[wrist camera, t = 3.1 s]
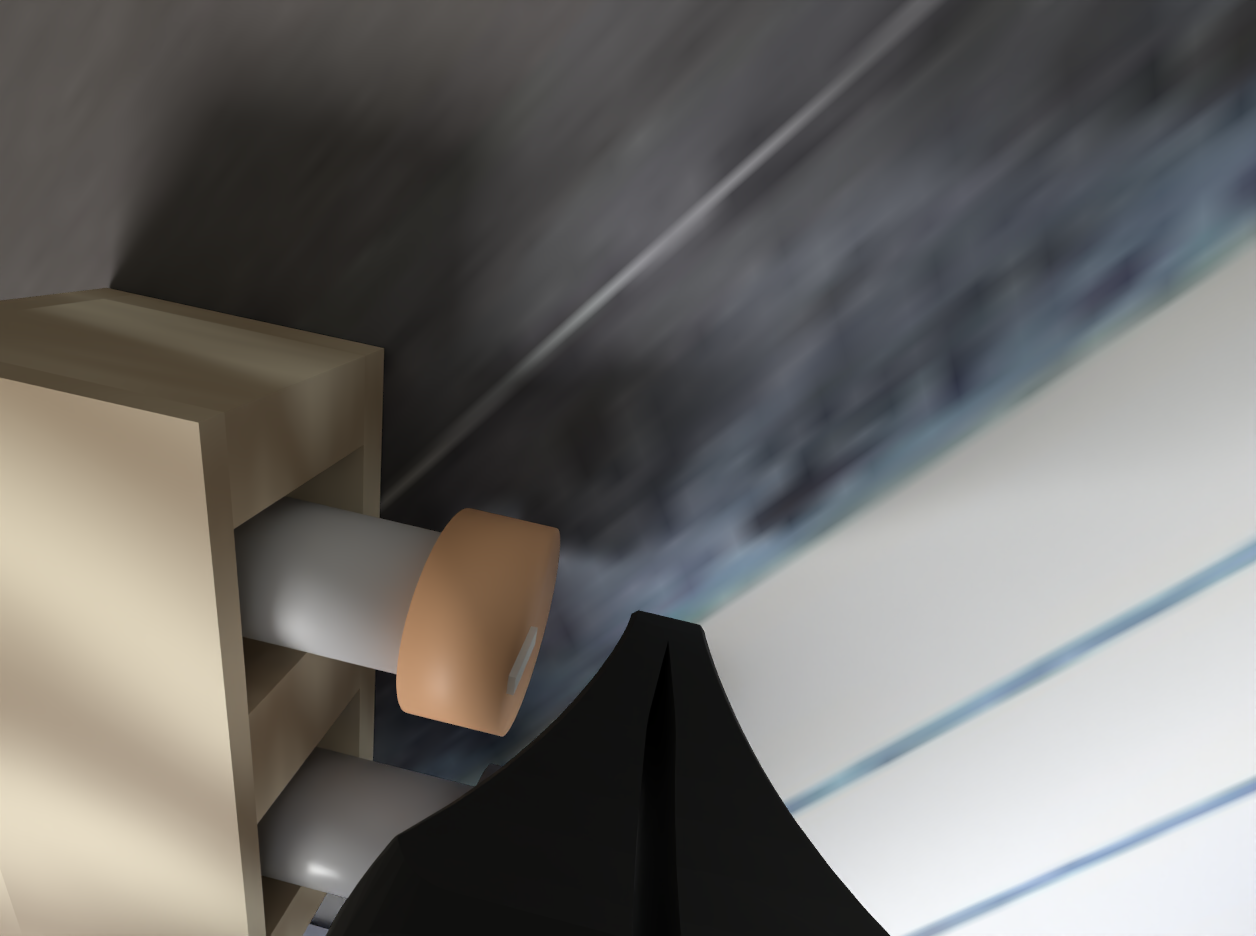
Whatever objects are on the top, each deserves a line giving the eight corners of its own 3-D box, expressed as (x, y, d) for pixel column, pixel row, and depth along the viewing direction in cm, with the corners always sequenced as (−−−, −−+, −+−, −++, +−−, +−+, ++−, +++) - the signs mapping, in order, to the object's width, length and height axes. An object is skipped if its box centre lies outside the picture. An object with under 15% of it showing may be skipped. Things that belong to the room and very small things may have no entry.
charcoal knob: (573, 746, 16) (529, 906, 12) (552, 849, 17) (508, 1018, 14) (316, 683, 16) (199, 819, 13) (318, 789, 18) (215, 938, 14)
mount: (371, 815, 19) (256, 1016, 15) (176, 765, 20) (0, 945, 15) (384, 348, 14) (198, 422, 9) (106, 287, 14) (-222, 327, 9)
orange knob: (575, 496, 13) (521, 604, 10) (550, 645, 15) (495, 787, 11) (267, 426, 14) (99, 505, 10) (275, 579, 15) (133, 696, 11)
